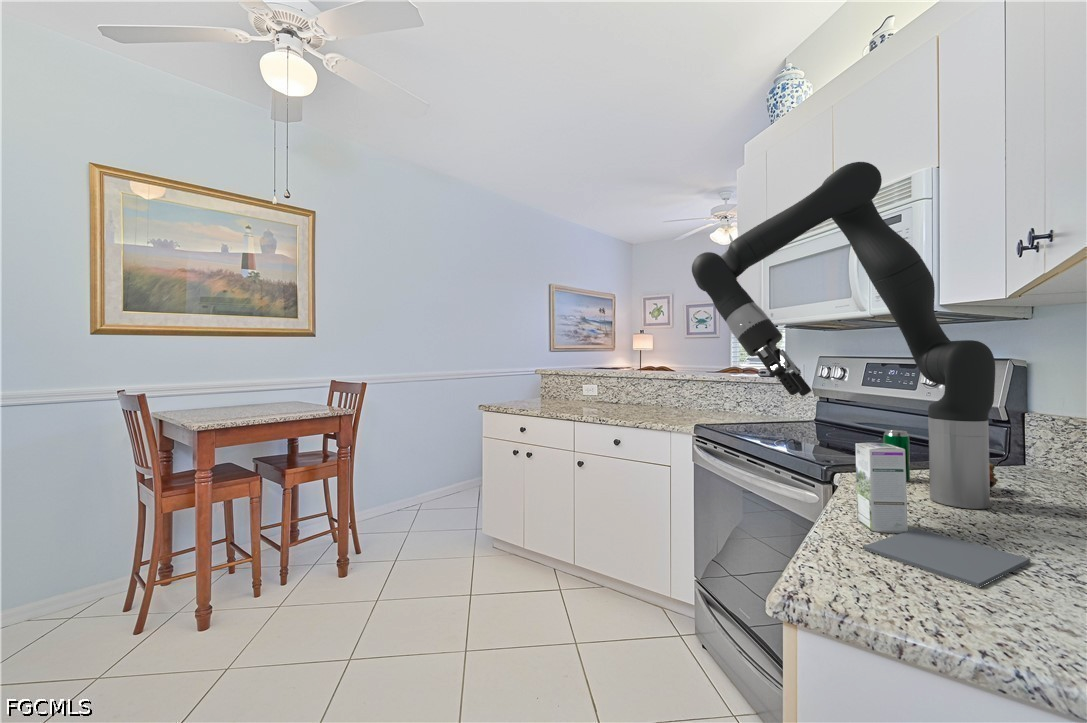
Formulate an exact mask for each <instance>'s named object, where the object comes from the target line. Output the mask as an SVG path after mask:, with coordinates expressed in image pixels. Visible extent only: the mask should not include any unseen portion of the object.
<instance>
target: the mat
mask: <svg viewBox="0 0 1087 723" xmlns="http://www.w3.org/2000/svg"><path fill="white" fill-rule="evenodd" d="M863 549H865V550H868V551H871V552H873V553H872V554H874V553H877V554H879V555H878V556H880V555H882V556H881V557H883V556H885V557H884V558H886V557H887V558H886V559H889V558H891V559H890V560H892V559H894V560H893V561H895V560H897V561H896V562H898V561H900V562H899V563H901V562H903V563H902V564H904V563H906V564H905V565H907V564H909V565H908V566H910V565H912V567H913V566H914V567H913V568H916V567H917V569H919V568H921V569H920V570H922V569H924V570H923V571H925V570H927V571H926V572H928V571H929V573H931V572H933V573H932V574H934V573H936V574H935V575H937V574H939V575H938V576H941V575H942V576H941V577H944V576H946V577H945V578H947V577H949V578H948V579H950V578H952V579H951V580H953V579H956V580H958V581H957V582H959V581H961V582H960V583H962V582H965V583H967V584H966V585H968V584H971V585H974V586H977V587H980V586H982V585H984V584H986V583H988V582H990V581H992V580H994V579H996V578H998V577H1000V576H1002V575H1004V576H1006V575H1008V574H1010V573H1012V572H1014V571H1016V570H1018V569H1021V568H1022V567H1024V566H1026V565H1028V564H1030V563H1031V558H1030V557H1027V556H1022V555H1018V554H1015V553H1011V552H1007V551H1003V550H1000V549H996V548H993V547H988V546H986V545H981V544H977V543H974V542H970V541H967V540H962V539H958V538H954V537H951V536H947V535H943V534H940V533H935V532H933V531H929V530H925V529H921V528H917V527H916V528H913V529H910V530H908V531H907V532H904V533H897V534H895V535H892V536H889V537H886V538H883V539H879V540H877V541H874V542H871V543H867V544H865V545H862V550H863ZM865 550H864V551H865ZM868 551H867V552H868ZM871 552H870V553H871ZM877 554H876V555H877ZM1009 572H1010V573H1009ZM1007 573H1008V574H1007ZM1005 574H1006V575H1005ZM1002 577H1003V576H1002ZM1000 578H1001V577H1000ZM998 579H999V578H998ZM956 580H955V581H956ZM996 580H997V579H996ZM994 581H995V580H994ZM992 582H993V581H992ZM965 583H964V584H965ZM990 583H991V582H990ZM988 584H989V583H988ZM971 585H970V586H971ZM986 585H987V584H986ZM974 586H973V587H974ZM984 586H985V585H984ZM977 587H976V588H977ZM982 587H983V586H982ZM980 588H981V587H980Z"/></svg>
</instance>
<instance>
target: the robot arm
mask: <svg viewBox="0 0 1087 723" xmlns="http://www.w3.org/2000/svg"><path fill="white" fill-rule="evenodd" d="M882 180H883V179H882V173H881V172H880V170H879V168H877V167H876V165H874V164H872V163H870V162H867V161H854V162H850V163H847V164H845V165H843V166H840V167H839V168H838V169H837V170H835V171H834V172H833V173H832V174H830V175H829V176H827V178H826V179H825V180H824V181H823V183H822V184H821V185H820V186H819V187H817V189H816V190H814V191H812V192H811V193H810V194H808V195H806V196H805V197H804V198H802V199H800V200H799V201H798V202H796V203H794V204H793V205H791V206H789V207H787V208H786V209H784V210H783V211H780V212H779V213H777V214H776V215H774V216H772V217H769V218H768V219H766V220H764V221H763V222H761V223H760V224H758V225H756V226H754V227H752V228H750V229H749V230H747V231H746V232H744V233H742V234H741V235H740V236H738V237H736V238H734V239H733V240H732V241H731V242H730V244H729V246H728V250H726V252H724V253H723V254H722V255H719V254H717V253H715V252H712V251H706V252H702V253H700V254H699V255H697V256H696V258H695V259H694V260H693V262H692V264H691V274H692V276H693V278H694V281H695V284H696V285H697V287H698V289H700V290H701V291H703V292H705V293H706V294H707V295H708V296H709V298H710V299H711V301H712V302H713V305H714V307H715V309H716V310H717V312H718V314H719V315H720V316H721V318H722V319H723V320H724V321H725V323H726V324H727V326H728V328H729V330H730V332H731V333H732V334H733V336H734V337H735V339H736V340H737V341H738V342H739V344H740V345H741V346H742V348H743V350H744V351H745V352H746V354H747V355H748V356H749V357H758V359H759V361H761V363H762V364H763V365H764V367H765V368H766V369H767V371H768V373H769V375H770V376H772V377H773V378H775V379H777V380H778V381H780V383H781V385H782V386H783V387H784V388H785V390H786V391H787V393H788V394H789V395H790V396H795V395H796V394H799V395H800V396H802V397H803V396H806V395H808V394H809V393H811V392H812V388H811V386H810V385H809V384H808V383H807V382H806V381H805V379H804V378H803V377H802V374H801V373H802V372H801V369H800V368H798V366H796V365H797V364H796V363H795V362H794V361H793V360H792V358H790V356H789V355H788V354H787V352H786V351H785V350H784V349H781V348H780V347H778V346H777V344H778V343H780V341H781V340H782V338H783V334H782V332H781V331H780V330H779V329H778V328H777V327H776V325H775V324H774V322H773V321H772V320H771V319H770V318H769V317H768V315H767V314H766V313H765V311H764V310H763V309H762V308H761V307H760V305H759V306H758V305H757V303H756V302H755V301H754V300H753V298H752V297H751V296H750V295H749V293H748V292H747V291H746V289H744V288H743V287H742V285H741V284H740V282H738V280H737V278H739V276H741V275H742V274H743V273H745V271H746V270H747V269H748V268H750V267H752V266H755V264H757V263H759V262H761V261H763V260H764V259H766V258H767V257H770V256H771V255H773V254H774V253H775V252H777V251H779V250H781V249H782V248H784V247H785V246H787V245H789V243H791V242H793V241H794V240H795V239H797V238H799V237H800V236H802V235H803V234H805V233H807V232H809V231H810V230H811V229H813V228H815V227H816V226H817V227H818V225H820V224H822V223H824V222H826V221H828V220H830V219H832V221H833V222H834V223H835V224H836V226H837V227H838V228H839V230H840V232H842V234H844V237H846V239H847V240H848V242H849V244H850V246H851V248H852V249H853V251H854V254H855V256H856V257H857V259H858V261H859V262H860V264H861V266H862V268H863V269H864V271H865V273H866V275H867V276H868V278H869V280H870V282H871V283H872V285H873V287H874V288H875V290H876V292H877V293H878V296H880V299H881V300H882V301H883V303H884V304H885V305H886V308H887V309H888V312H889V313H890V314H891V316H892V318H893V320H894V321H895V323H896V325H897V326H898V328H899V330H900V332H901V333H902V336H903V338H904V340H905V342H906V344H907V347H908V349H909V351H910V353H911V356H912V358H913V360H914V362H915V365H916V366H917V369H918V370H919V372H920V373H921V375H922V376H923V377H924V378H925V379H926V380H928V381H930V382H931V383H934V384H935V385H936V384H937V385H943V386H944V391H943V392H944V393H943V396H942V397H941V398H940V399H938V400H937V401H934V402H931V403H930V404H929V405H928V409H927V410H928V411H927V414H928V416H927V418H928V419H927V420H928V471H929V472H928V473H929V474H928V476H929V478H928V479H929V480H928V482H929V500H931V501H933V502H935V503H938V504H941V505H945V506H950V507H955V508H962V509H972V510H982V509H983V510H984V509H985V510H986V509H990V507H991V497H990V496H991V493H990V491H991V490H990V489H991V487H990V476H989V463H990V433H989V429H990V428H989V415H990V414H989V413H990V411H991V409H992V407H993V405H994V402H995V384H996V361H995V360H996V359H995V357H994V353H993V352H992V351H991V348H989V346H987V345H986V344H985V343H983V342H981V341H979V340H973V339H971V340H968V339H964V340H963V339H962V340H950V339H949V338H948V336H947V334H945V331H944V330H943V328H942V327H941V324H939V322H938V320H937V316H936V314H935V291H936V290H935V288H936V287H935V281H934V278H933V275H932V274H931V271H930V269H929V267H927V264H926V263H925V261H924V260H923V258H922V256H921V255H920V253H919V252H918V251H917V250H916V249H915V247H913V246H912V244H910V242H908V241H907V240H906V239H905V238H904V237H902V236H901V235H900V234H899V233H898V232H896V231H895V230H894V229H893V228H891V227H890V226H889V225H888V224H887V222H886V221H885V220H884V219H883V218H882V216H881V214H880V213H879V211H878V209H877V207H876V206H875V204H874V201H873V199H874V198H876V196H877V195H878V193H879V192H880V189H881V186H882V183H883V182H882Z"/></svg>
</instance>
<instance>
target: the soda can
mask: <svg viewBox="0 0 1087 723" xmlns="http://www.w3.org/2000/svg"><path fill="white" fill-rule="evenodd" d="M884 431H885V432H884V433H883V443H886V444H890V445H893V446H896V447H899V448H903V449H905V462H906V481H907V482H909V481H910V479H911V468H910V467H911V466H910V465H911V463H910V461H911V458H910V456H911V455H910V452H911V451H910V448H911V447H910V435H909V434H908V431H906V430H901V429H900V430H899V429H885V430H884Z"/></svg>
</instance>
